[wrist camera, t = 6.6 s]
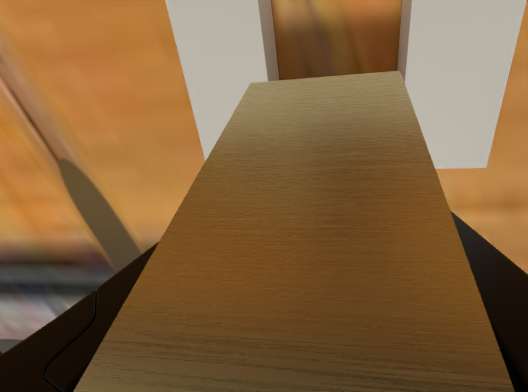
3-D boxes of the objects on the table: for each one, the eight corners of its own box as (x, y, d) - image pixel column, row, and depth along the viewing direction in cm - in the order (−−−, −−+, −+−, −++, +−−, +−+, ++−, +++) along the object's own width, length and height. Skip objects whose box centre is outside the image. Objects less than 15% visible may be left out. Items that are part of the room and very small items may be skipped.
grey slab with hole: (531, -164, 13) (570, -181, 11) (470, 138, 20) (486, 167, 18) (170, -97, 17) (140, -99, 14) (222, 146, 23) (208, 172, 21)
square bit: (400, 70, 10) (638, 736, 2) (391, 196, 12) (482, 734, 4) (250, 82, 11) (-27, 567, 3) (268, 197, 13) (148, 643, 5)
